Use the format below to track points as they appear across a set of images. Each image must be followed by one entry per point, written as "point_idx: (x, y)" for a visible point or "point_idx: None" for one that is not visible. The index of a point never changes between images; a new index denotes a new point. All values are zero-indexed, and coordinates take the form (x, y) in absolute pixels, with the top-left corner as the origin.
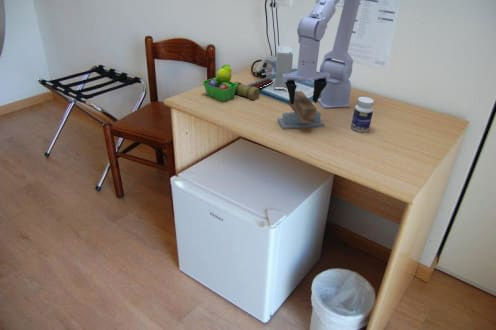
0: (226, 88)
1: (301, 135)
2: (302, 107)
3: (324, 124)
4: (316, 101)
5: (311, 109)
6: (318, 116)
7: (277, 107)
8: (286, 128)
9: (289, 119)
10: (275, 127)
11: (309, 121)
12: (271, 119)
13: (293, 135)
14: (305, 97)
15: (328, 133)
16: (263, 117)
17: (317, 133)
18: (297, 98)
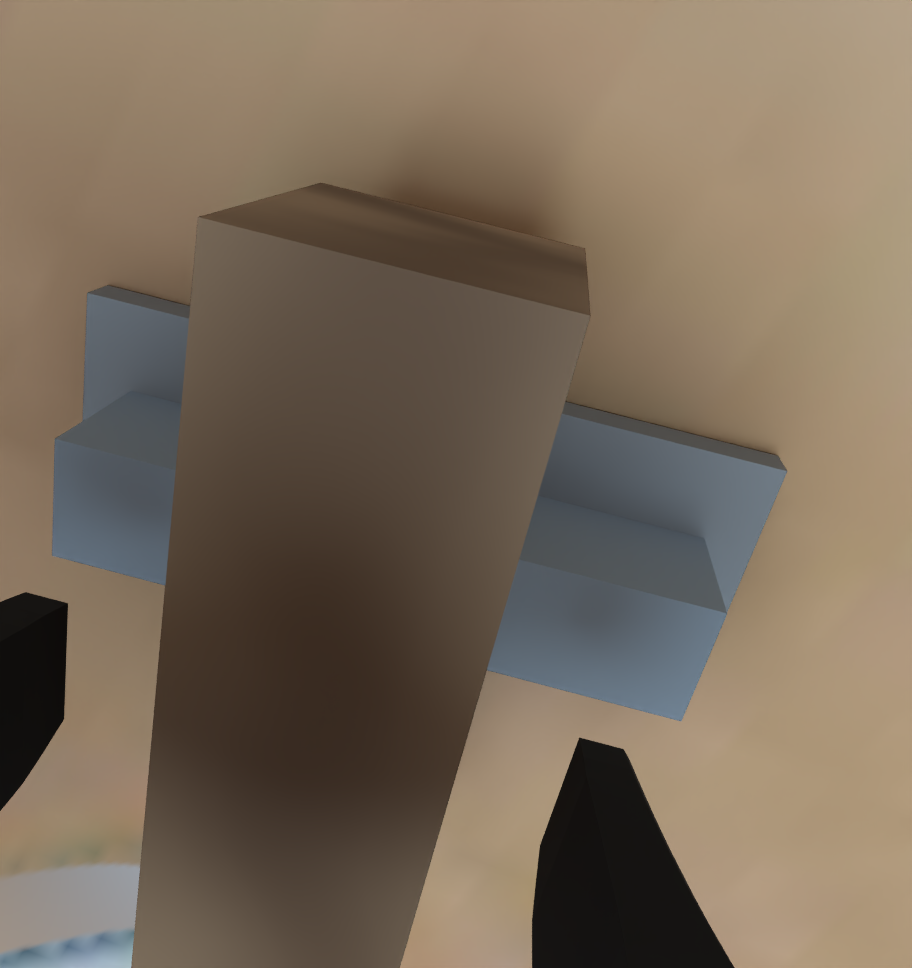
0: None
1: (620, 150)
2: (551, 444)
3: (92, 292)
4: (15, 604)
5: (357, 252)
6: (116, 431)
7: (459, 950)
8: (717, 443)
9: (629, 556)
10: (835, 547)
11: (432, 212)
12: (728, 753)
13: (747, 204)
14: (180, 846)
15: (144, 33)
16: (792, 833)
17: (323, 109)
18: (378, 877)
